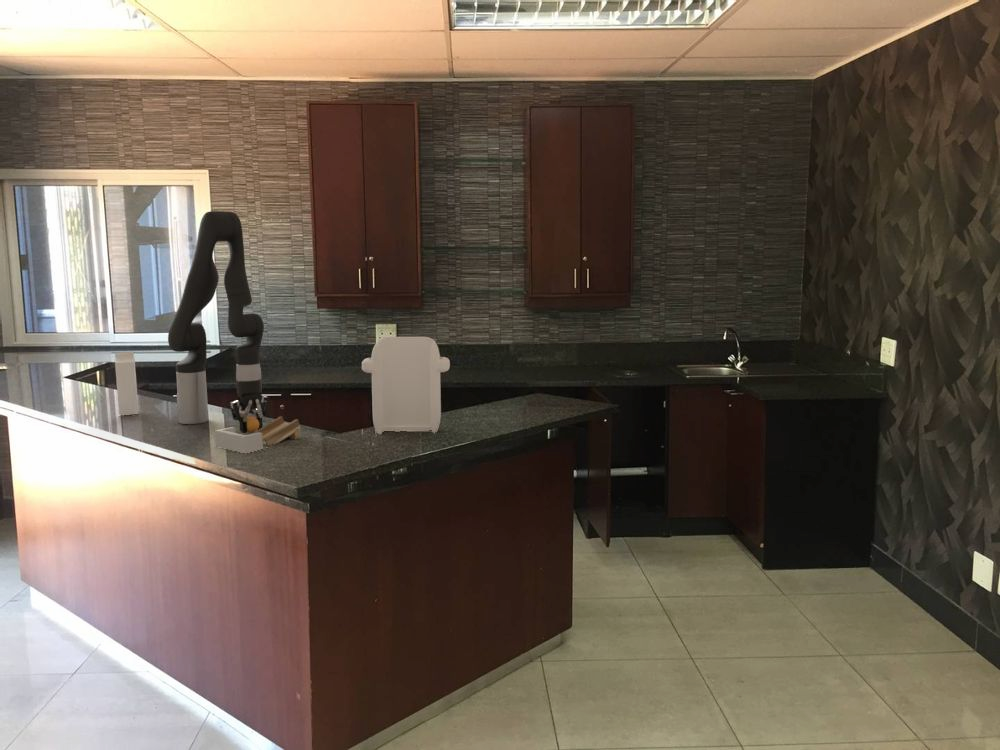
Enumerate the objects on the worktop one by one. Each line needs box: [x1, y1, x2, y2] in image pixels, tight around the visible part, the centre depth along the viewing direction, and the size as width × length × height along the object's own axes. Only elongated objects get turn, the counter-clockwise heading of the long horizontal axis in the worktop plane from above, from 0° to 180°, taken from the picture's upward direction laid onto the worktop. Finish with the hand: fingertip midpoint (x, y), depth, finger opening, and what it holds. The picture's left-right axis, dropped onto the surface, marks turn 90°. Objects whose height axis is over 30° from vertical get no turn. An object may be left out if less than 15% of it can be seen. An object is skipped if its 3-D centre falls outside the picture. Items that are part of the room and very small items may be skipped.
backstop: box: [214, 426, 264, 455], centre depth 242 cm, size 14×6×5 cm, turn 53°
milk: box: [114, 351, 139, 416], centre depth 290 cm, size 6×6×22 cm
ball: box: [246, 416, 259, 434], centre depth 261 cm, size 5×5×5 cm
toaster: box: [361, 336, 451, 435], centre depth 262 cm, size 27×11×30 cm, turn 92°
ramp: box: [253, 415, 302, 446], centre depth 252 cm, size 8×13×7 cm, turn 144°
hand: (251, 431), depth 261 cm, fingers closed on ball, 5 cm apart
